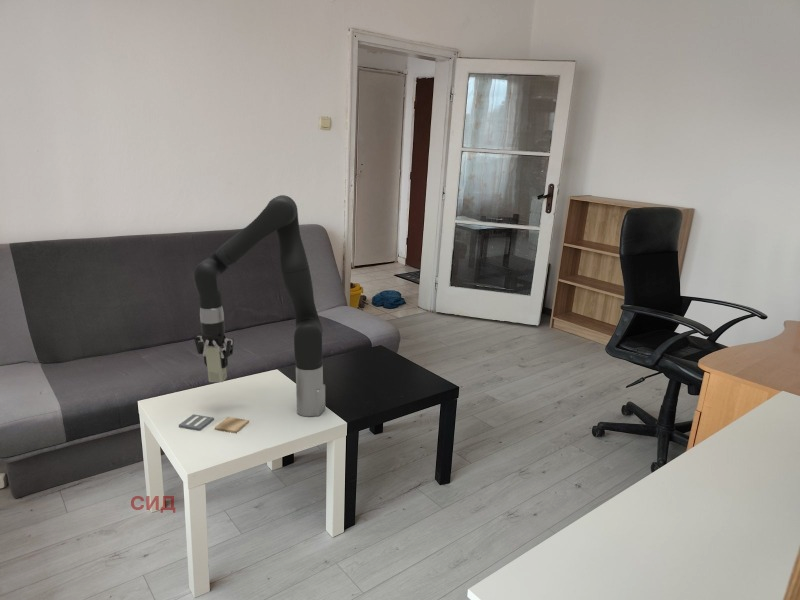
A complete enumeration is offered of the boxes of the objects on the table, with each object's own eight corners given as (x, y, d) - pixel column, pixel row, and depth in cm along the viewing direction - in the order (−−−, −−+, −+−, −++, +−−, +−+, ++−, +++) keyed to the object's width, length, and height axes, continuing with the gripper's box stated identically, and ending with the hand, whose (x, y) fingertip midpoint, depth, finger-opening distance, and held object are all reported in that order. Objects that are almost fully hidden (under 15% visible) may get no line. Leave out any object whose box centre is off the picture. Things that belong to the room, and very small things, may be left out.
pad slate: (214, 419, 189) (213, 417, 189) (200, 430, 182) (199, 428, 182) (193, 416, 191) (193, 413, 191) (178, 427, 184) (178, 424, 183)
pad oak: (249, 422, 188) (248, 420, 188) (236, 433, 181) (236, 431, 180) (227, 418, 190) (227, 416, 190) (214, 429, 183) (214, 427, 182)
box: (227, 377, 194) (224, 342, 191) (222, 383, 190) (219, 347, 186) (212, 377, 195) (209, 342, 191) (207, 382, 190) (204, 346, 187)
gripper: (237, 317, 188) (240, 364, 193) (200, 314, 192) (204, 360, 196) (225, 324, 181) (229, 373, 186) (186, 320, 185) (191, 368, 189)
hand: (216, 366), depth 191 cm, fingers closed on box, 5 cm apart
